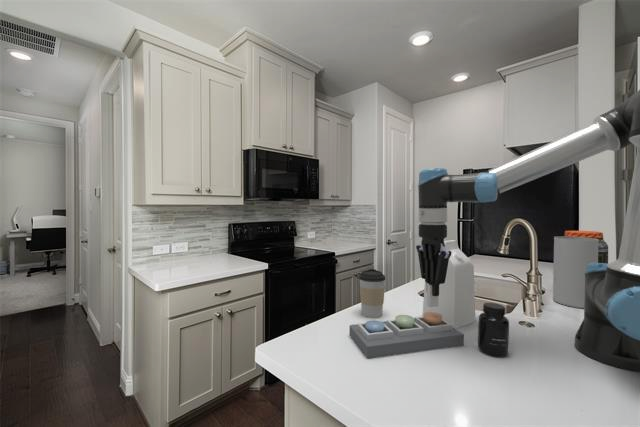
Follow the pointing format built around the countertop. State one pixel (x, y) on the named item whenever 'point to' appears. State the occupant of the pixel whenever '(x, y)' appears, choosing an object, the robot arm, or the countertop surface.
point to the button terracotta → (432, 318)
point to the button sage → (404, 321)
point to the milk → (455, 290)
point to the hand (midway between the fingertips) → (432, 305)
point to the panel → (405, 338)
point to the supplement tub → (596, 235)
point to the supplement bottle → (493, 330)
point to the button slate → (374, 326)
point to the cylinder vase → (572, 268)
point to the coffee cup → (372, 293)
